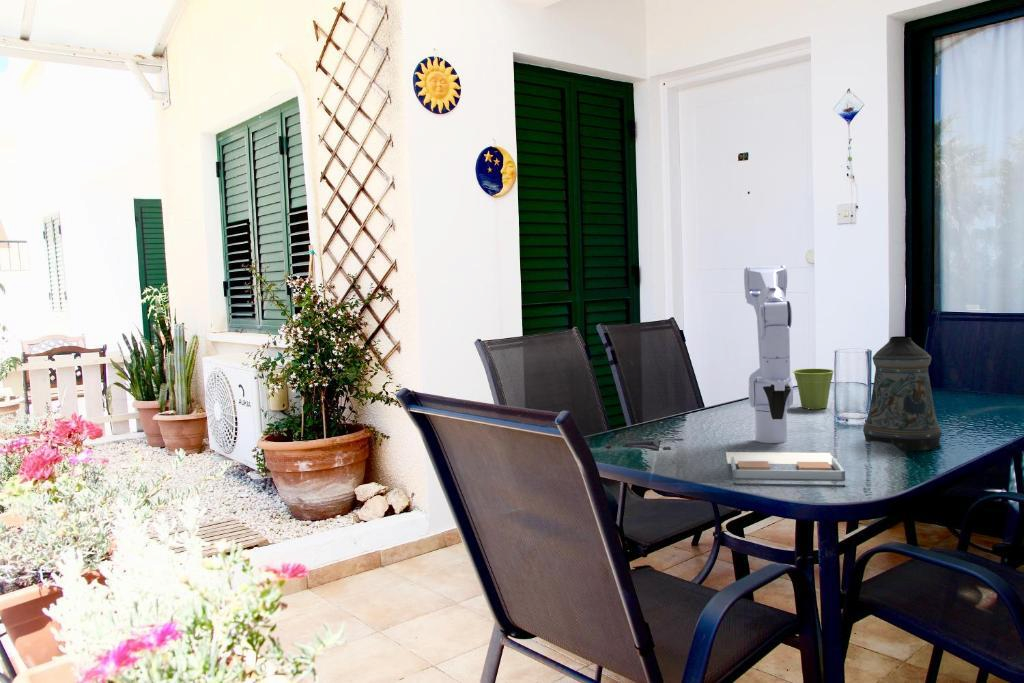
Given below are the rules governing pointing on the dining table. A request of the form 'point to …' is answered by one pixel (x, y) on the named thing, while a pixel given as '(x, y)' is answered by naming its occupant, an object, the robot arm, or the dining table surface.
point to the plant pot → (814, 387)
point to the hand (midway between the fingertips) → (777, 418)
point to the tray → (790, 475)
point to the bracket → (651, 442)
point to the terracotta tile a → (753, 465)
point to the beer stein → (902, 398)
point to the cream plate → (779, 457)
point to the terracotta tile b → (814, 466)
